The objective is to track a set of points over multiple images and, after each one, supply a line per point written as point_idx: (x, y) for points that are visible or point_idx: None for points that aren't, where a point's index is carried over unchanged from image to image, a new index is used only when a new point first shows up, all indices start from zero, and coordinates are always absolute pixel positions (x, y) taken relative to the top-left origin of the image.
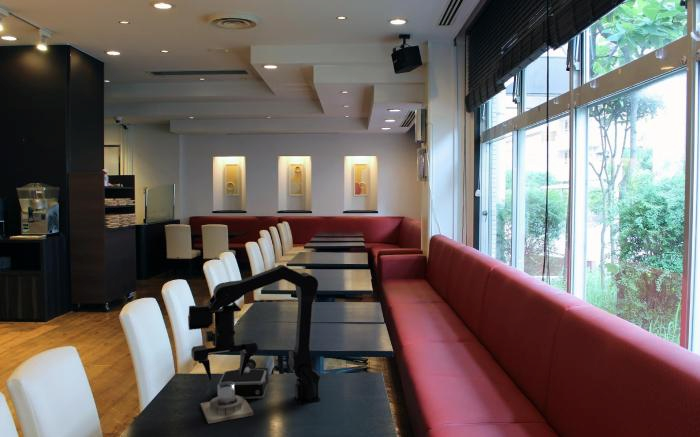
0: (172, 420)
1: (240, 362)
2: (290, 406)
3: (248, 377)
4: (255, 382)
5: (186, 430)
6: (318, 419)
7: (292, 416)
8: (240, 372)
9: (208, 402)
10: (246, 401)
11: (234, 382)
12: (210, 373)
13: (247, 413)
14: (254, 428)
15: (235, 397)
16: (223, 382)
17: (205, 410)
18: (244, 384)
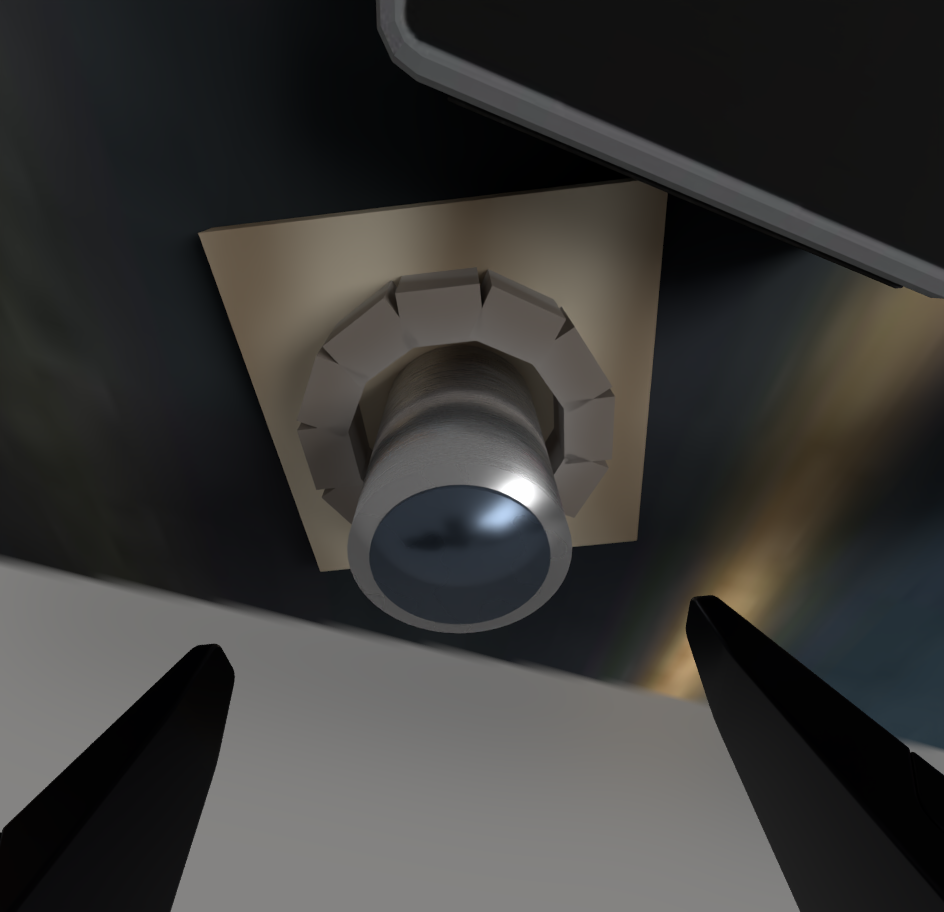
0: (37, 443)
1: (849, 821)
2: (925, 470)
3: (934, 22)
4: (900, 277)
5: (198, 592)
6: (927, 651)
7: (835, 594)
8: (709, 684)
9: (283, 242)
10: (652, 346)
11: (631, 151)
12: (188, 844)
13: (591, 543)
14: (581, 654)
15: (556, 391)
16: (430, 505)
17: (278, 419)
18: (750, 219)
